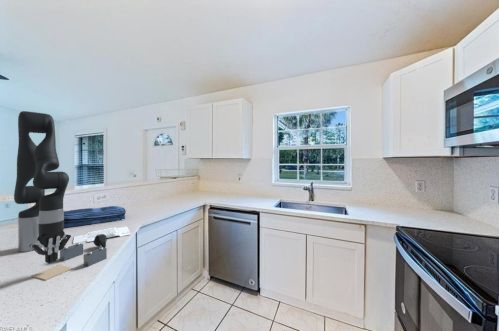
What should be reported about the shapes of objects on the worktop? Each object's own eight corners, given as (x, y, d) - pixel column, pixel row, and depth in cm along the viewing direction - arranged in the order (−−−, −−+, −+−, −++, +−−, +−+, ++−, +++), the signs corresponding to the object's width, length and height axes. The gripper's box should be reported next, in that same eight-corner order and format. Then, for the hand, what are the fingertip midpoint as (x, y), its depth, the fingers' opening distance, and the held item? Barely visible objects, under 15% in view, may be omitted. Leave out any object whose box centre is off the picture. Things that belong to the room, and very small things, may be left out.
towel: (126, 220, 162) (126, 207, 162) (52, 230, 136) (53, 215, 136) (122, 214, 181) (122, 203, 181) (57, 222, 154) (57, 209, 154)
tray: (74, 236, 126) (74, 230, 126) (125, 227, 144) (125, 222, 144) (72, 247, 111) (72, 240, 111) (131, 235, 128) (131, 230, 128)
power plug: (99, 252, 101) (94, 233, 107) (96, 261, 104) (91, 242, 110) (112, 248, 105) (106, 230, 111) (109, 257, 108) (104, 239, 114)
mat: (31, 276, 80) (31, 275, 80) (59, 266, 89) (59, 264, 89) (45, 281, 77) (45, 279, 77) (72, 269, 86) (72, 268, 86)
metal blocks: (59, 260, 94) (59, 248, 94) (79, 253, 101) (79, 242, 101) (88, 267, 88) (88, 254, 88) (106, 259, 95) (106, 247, 95)
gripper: (64, 215, 91) (64, 254, 91) (23, 223, 78) (23, 268, 78) (76, 217, 88) (76, 256, 88) (35, 225, 76) (35, 272, 76)
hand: (51, 262), depth 83 cm, fingers closed
